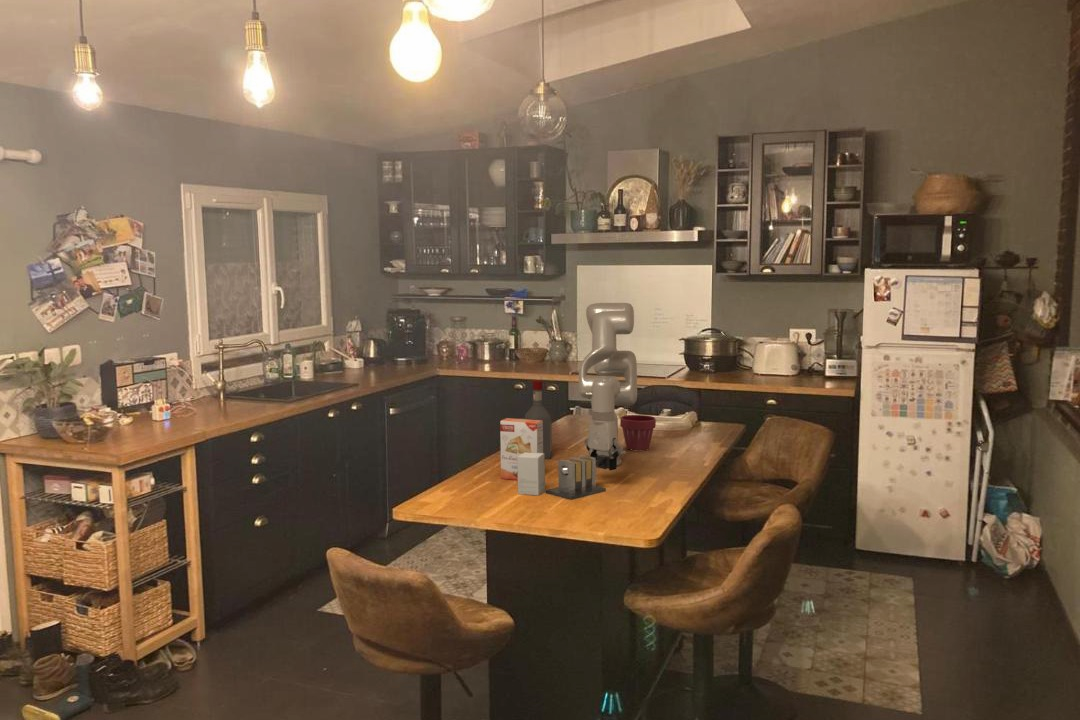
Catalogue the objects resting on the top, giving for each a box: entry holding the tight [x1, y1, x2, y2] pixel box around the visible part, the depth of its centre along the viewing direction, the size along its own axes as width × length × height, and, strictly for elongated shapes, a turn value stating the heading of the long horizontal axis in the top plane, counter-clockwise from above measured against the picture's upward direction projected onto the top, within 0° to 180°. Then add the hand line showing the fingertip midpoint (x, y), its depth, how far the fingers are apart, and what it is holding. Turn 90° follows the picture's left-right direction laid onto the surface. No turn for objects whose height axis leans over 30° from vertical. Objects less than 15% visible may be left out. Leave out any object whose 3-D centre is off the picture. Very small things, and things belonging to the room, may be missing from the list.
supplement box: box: [517, 452, 546, 496], centre depth 292 cm, size 7×7×13 cm
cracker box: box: [499, 417, 543, 481], centre depth 310 cm, size 14×6×21 cm, turn 68°
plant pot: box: [619, 414, 657, 451], centre depth 360 cm, size 14×14×13 cm
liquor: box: [523, 379, 553, 460], centre depth 343 cm, size 9×9×30 cm
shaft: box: [560, 455, 610, 474], centre depth 295 cm, size 20×4×4 cm, turn 133°
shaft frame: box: [544, 454, 607, 501], centre depth 292 cm, size 16×12×11 cm
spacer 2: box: [578, 457, 591, 479], centre depth 294 cm, size 2×6×6 cm, turn 43°
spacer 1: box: [566, 459, 581, 482], centre depth 291 cm, size 2×6×6 cm, turn 43°
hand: (603, 467), depth 301 cm, fingers open, 8 cm apart
